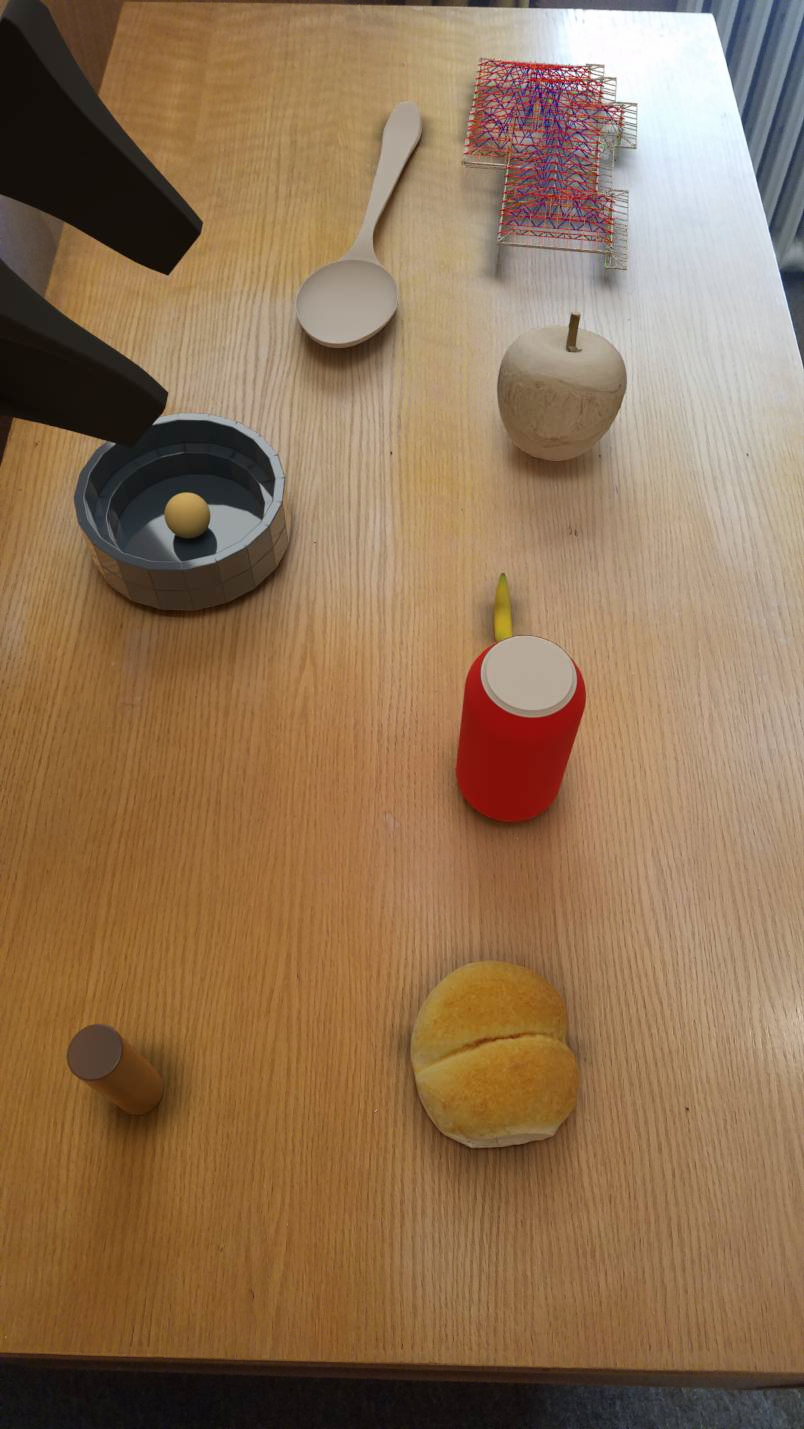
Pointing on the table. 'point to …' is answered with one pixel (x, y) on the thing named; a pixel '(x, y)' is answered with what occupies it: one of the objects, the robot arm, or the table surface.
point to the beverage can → (518, 727)
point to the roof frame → (595, 165)
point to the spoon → (361, 255)
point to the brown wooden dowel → (114, 1069)
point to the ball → (187, 515)
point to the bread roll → (494, 1056)
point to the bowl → (168, 461)
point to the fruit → (502, 611)
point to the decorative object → (560, 390)
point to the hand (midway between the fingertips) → (169, 329)
